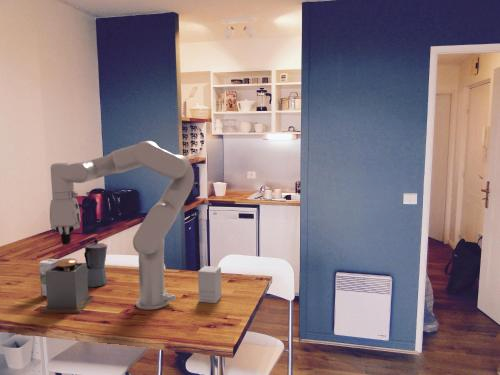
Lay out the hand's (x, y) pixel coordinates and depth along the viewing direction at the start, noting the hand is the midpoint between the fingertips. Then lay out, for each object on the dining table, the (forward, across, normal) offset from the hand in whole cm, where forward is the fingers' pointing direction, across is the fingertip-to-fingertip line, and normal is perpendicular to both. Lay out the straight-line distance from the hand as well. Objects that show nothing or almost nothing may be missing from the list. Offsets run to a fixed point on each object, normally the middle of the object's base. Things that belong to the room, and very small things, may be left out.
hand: (66, 243), depth 160 cm
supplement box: (+25, -53, -7) cm, 59 cm away
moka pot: (+25, -1, -23) cm, 34 cm away
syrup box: (+24, +13, -11) cm, 30 cm away
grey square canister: (+24, +1, 0) cm, 24 cm away
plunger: (+21, +1, 0) cm, 21 cm away
